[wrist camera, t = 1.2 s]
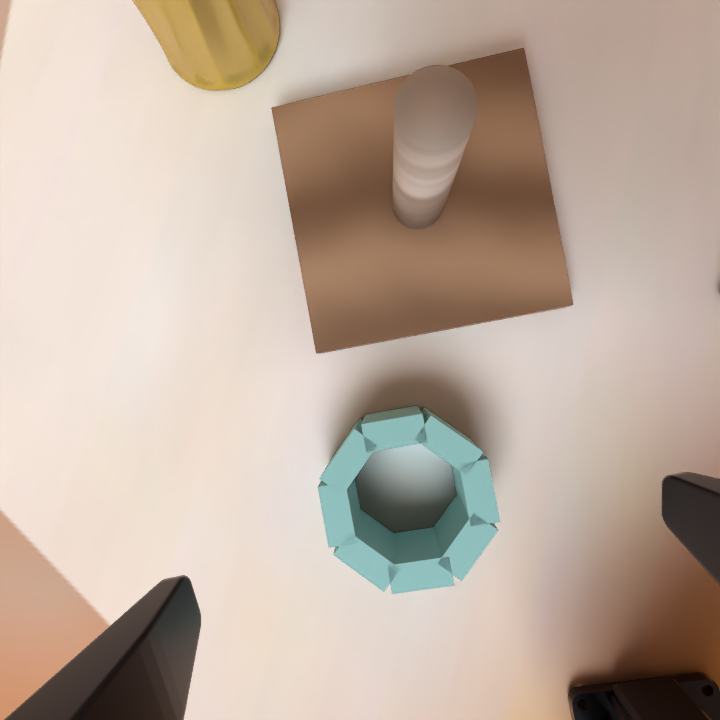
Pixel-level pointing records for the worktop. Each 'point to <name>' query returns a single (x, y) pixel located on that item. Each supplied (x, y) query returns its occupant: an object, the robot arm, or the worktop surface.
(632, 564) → the worktop surface
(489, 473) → the ring
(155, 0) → the vase
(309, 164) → the post stand
